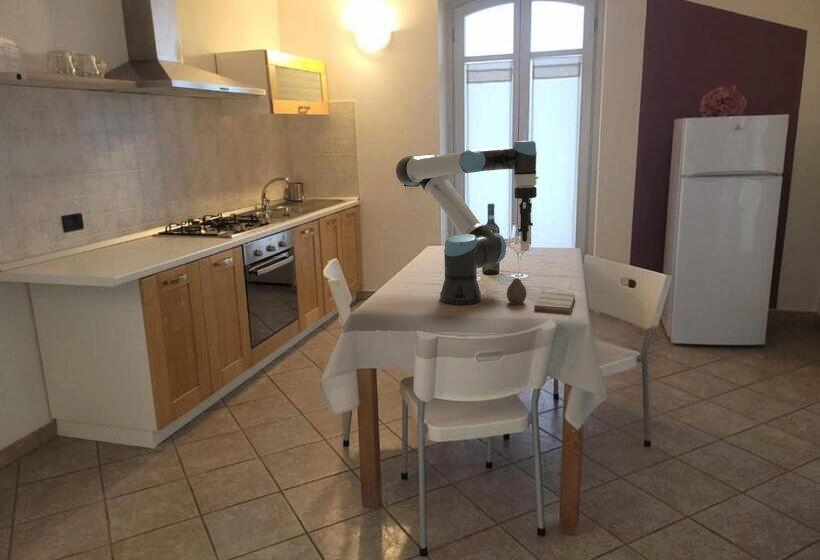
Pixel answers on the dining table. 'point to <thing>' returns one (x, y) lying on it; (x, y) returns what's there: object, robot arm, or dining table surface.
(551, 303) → the walnut board
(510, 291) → the vase
